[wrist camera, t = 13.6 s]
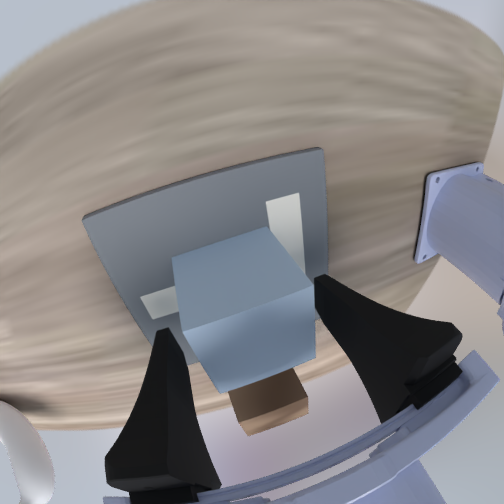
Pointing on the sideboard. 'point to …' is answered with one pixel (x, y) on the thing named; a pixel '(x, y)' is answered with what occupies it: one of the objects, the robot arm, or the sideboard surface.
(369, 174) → the sideboard surface
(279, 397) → the walnut block
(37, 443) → the white curved piece
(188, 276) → the blue cube
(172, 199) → the letter card
